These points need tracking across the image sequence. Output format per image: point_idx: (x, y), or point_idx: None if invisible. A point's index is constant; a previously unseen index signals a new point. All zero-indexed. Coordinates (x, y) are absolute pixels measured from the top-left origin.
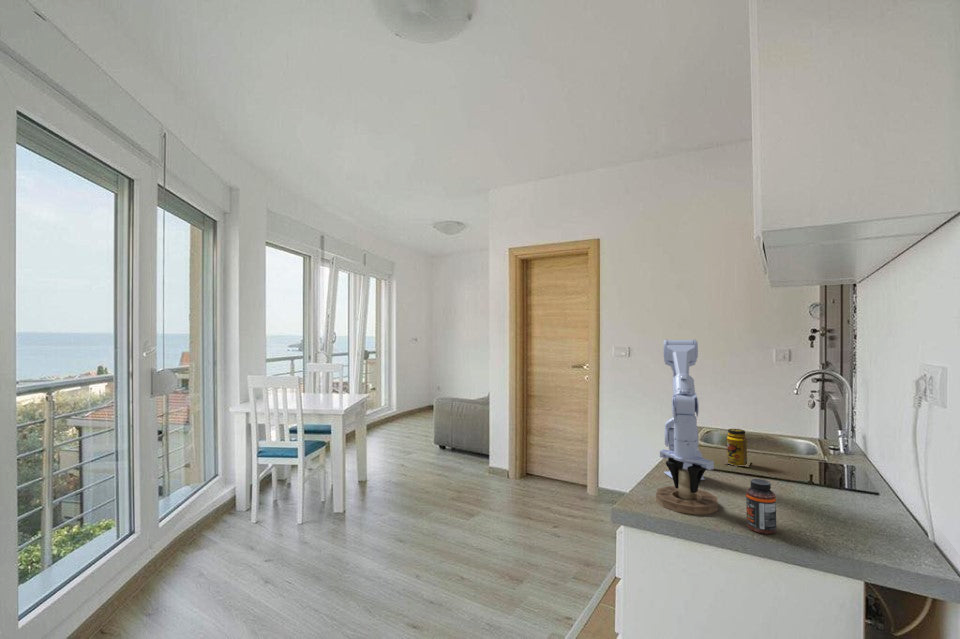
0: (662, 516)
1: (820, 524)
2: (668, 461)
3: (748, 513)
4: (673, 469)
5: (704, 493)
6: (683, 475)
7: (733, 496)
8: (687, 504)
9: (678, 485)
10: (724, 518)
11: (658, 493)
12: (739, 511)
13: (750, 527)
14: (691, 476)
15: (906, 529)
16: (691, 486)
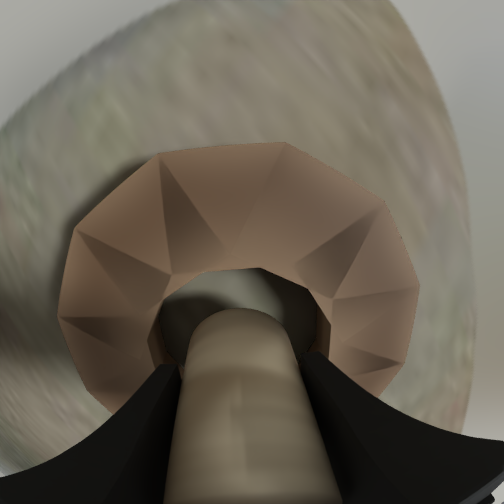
0: (179, 33)
1: (4, 437)
2: (487, 493)
3: None
4: (384, 463)
5: None
6: (226, 459)
7: None
8: (116, 220)
9: (293, 370)
10: (31, 307)
11: (379, 222)
12: (78, 411)
13: None
14: (97, 458)
15: (4, 472)
16: (151, 391)
